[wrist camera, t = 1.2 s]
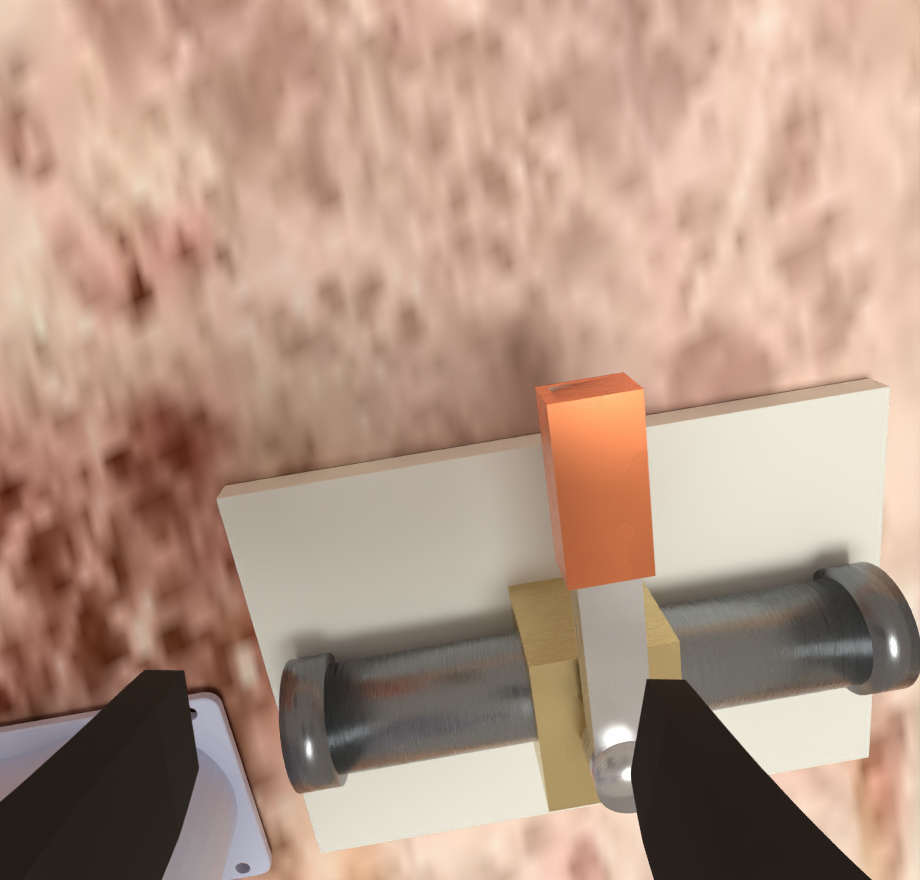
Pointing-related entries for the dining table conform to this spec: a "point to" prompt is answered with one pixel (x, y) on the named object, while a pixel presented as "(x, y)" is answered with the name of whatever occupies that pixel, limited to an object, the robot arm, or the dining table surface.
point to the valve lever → (603, 558)
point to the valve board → (555, 574)
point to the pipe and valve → (559, 684)
